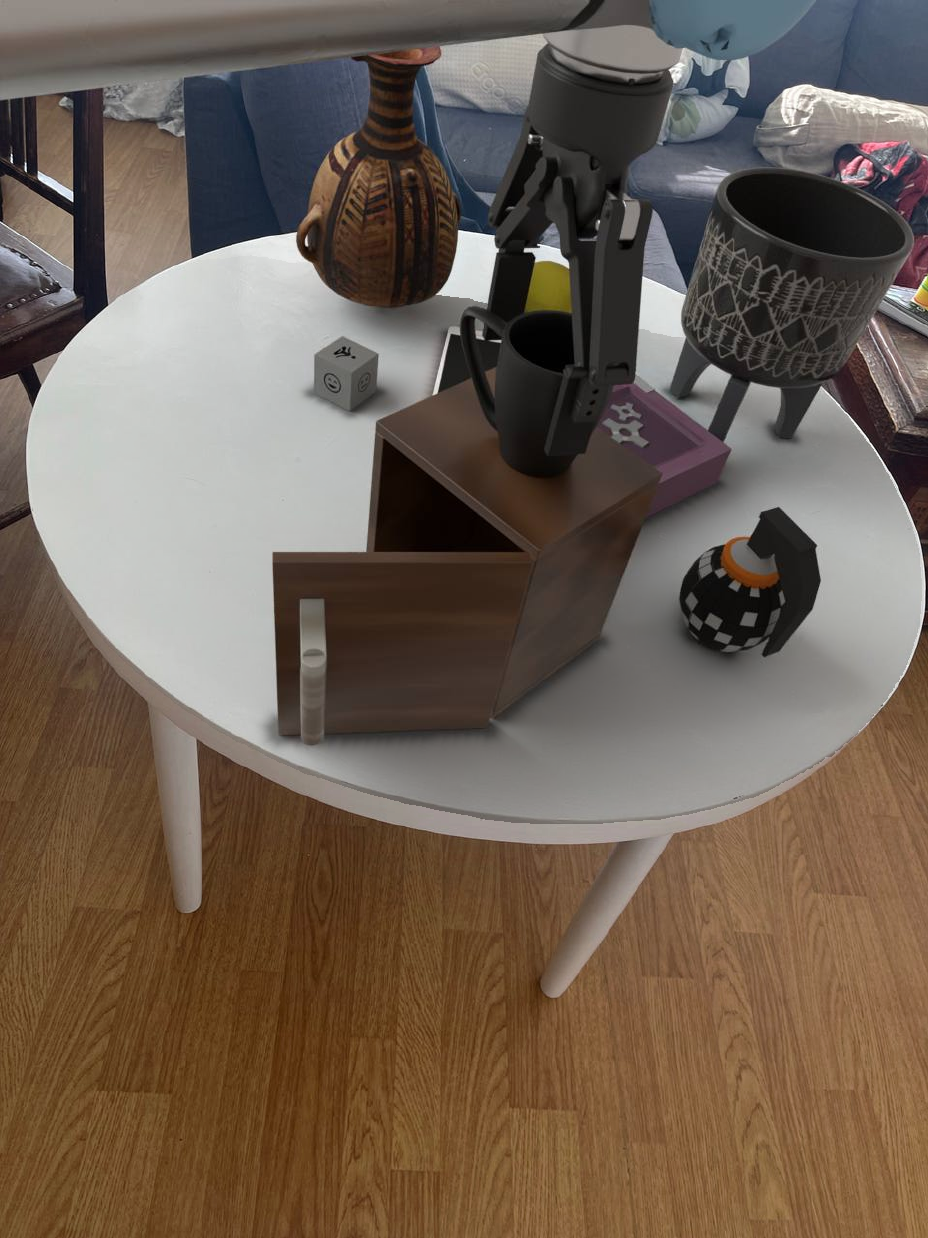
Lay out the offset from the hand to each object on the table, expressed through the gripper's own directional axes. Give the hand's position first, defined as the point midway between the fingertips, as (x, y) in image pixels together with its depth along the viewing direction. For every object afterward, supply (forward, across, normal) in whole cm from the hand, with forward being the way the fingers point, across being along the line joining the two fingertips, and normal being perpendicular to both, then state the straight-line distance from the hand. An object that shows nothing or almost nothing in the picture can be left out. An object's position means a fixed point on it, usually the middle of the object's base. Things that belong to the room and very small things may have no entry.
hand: (530, 391), depth 64 cm
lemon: (+25, +48, -24) cm, 59 cm away
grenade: (+25, -6, -22) cm, 34 cm away
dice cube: (+25, +36, +5) cm, 44 cm away
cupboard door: (+25, -12, +11) cm, 30 cm away
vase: (+25, +54, -3) cm, 59 cm away
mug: (+5, +1, 0) cm, 5 cm away
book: (+25, +18, -18) cm, 36 cm away
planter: (+25, +24, -39) cm, 52 cm away
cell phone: (+25, +37, -11) cm, 46 cm away
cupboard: (+25, 0, 0) cm, 25 cm away
